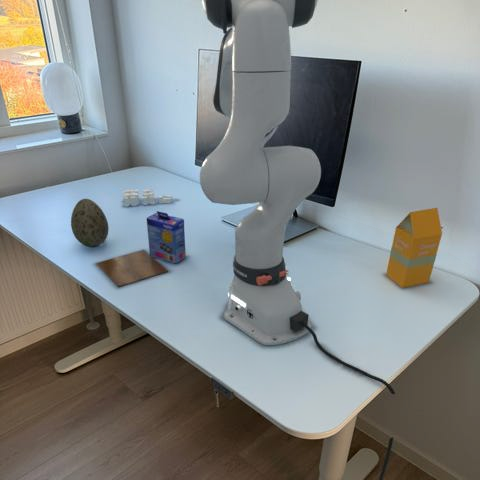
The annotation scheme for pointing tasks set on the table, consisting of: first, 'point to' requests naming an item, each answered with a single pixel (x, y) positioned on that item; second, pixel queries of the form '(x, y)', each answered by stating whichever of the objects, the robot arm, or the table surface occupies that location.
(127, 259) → the placemat
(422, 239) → the orange juice
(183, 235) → the ink cartridge box
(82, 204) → the decorative egg
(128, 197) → the modular blocks
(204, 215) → the table surface
